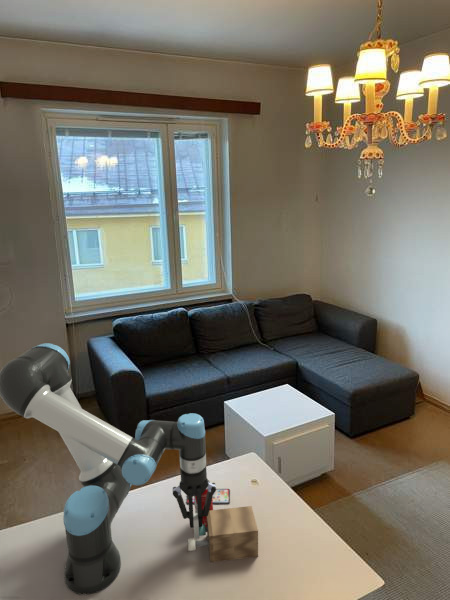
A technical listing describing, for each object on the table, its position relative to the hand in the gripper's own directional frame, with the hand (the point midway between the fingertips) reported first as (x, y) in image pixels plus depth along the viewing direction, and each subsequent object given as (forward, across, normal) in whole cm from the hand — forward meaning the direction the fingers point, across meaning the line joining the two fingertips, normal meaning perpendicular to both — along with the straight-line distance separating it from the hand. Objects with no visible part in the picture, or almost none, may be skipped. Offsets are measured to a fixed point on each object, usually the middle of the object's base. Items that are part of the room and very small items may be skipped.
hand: (196, 535), depth 128 cm
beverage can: (+3, +3, +8) cm, 9 cm away
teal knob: (0, +5, 0) cm, 5 cm away
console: (+3, +10, -2) cm, 11 cm away
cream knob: (0, +1, -5) cm, 5 cm away
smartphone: (+4, +5, +20) cm, 21 cm away
